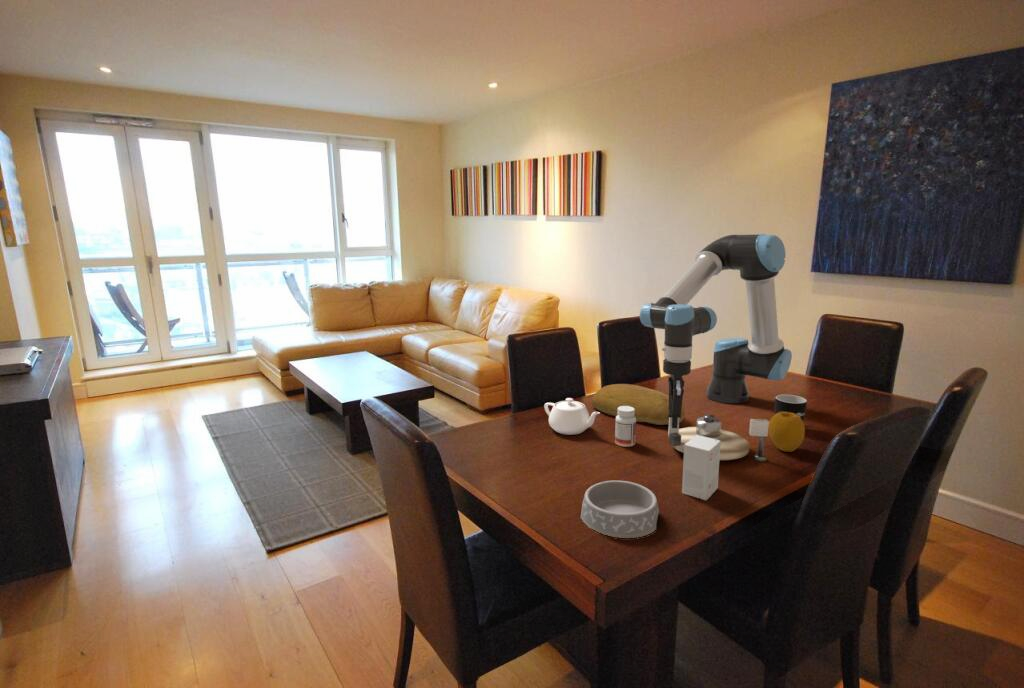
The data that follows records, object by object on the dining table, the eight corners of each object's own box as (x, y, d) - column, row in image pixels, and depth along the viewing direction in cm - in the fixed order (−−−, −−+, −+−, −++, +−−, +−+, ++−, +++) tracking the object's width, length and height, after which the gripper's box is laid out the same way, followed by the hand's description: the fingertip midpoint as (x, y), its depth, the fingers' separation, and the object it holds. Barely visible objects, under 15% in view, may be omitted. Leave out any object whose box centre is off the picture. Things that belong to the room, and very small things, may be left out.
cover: (691, 430, 161) (692, 413, 160) (711, 428, 162) (712, 411, 161) (704, 438, 154) (705, 421, 153) (725, 436, 156) (726, 419, 154)
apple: (758, 446, 155) (761, 409, 153) (781, 441, 159) (785, 404, 157) (786, 459, 147) (790, 419, 144) (810, 452, 150) (815, 414, 148)
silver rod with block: (746, 456, 148) (749, 418, 146) (763, 457, 148) (767, 418, 145) (749, 461, 146) (752, 421, 143) (767, 462, 145) (770, 422, 142)
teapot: (532, 428, 173) (531, 397, 171) (556, 417, 183) (556, 388, 181) (587, 445, 159) (588, 411, 156) (611, 432, 169) (611, 400, 166)
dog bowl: (573, 531, 113) (573, 509, 112) (591, 492, 130) (591, 473, 129) (654, 546, 108) (655, 523, 106) (661, 504, 124) (662, 483, 123)
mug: (794, 435, 163) (797, 405, 161) (767, 427, 170) (769, 398, 168) (813, 427, 169) (817, 397, 167) (786, 419, 177) (789, 391, 175)
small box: (693, 481, 135) (696, 434, 132) (718, 488, 131) (721, 440, 128) (680, 493, 129) (683, 444, 126) (706, 501, 125) (709, 450, 122)
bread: (671, 433, 167) (672, 404, 165) (581, 410, 190) (582, 384, 188) (695, 418, 180) (697, 390, 178) (609, 398, 204) (609, 373, 201)
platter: (652, 434, 161) (653, 421, 160) (719, 427, 166) (720, 415, 165) (691, 464, 140) (692, 450, 139) (766, 455, 145) (767, 441, 144)
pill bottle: (626, 438, 163) (627, 403, 161) (639, 445, 158) (640, 409, 156) (610, 441, 161) (611, 407, 158) (623, 448, 155) (624, 413, 153)
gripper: (661, 353, 154) (657, 428, 159) (666, 364, 142) (662, 445, 147) (687, 354, 153) (683, 429, 158) (694, 365, 140) (690, 446, 146)
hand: (673, 436), depth 152 cm, fingers closed
